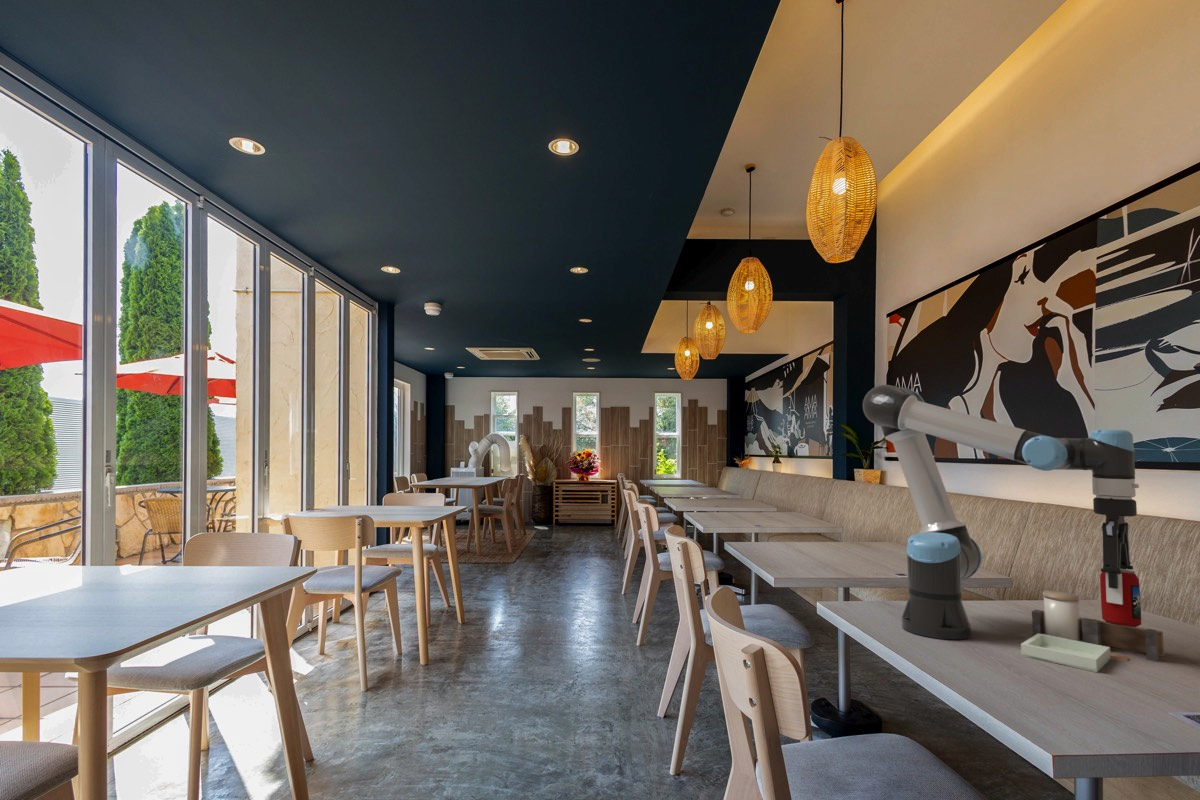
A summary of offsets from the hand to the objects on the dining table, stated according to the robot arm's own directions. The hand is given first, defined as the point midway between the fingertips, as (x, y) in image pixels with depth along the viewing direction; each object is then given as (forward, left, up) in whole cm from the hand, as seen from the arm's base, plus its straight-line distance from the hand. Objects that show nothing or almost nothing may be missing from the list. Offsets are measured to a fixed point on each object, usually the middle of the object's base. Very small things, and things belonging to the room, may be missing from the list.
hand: (1118, 600), depth 137 cm
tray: (-7, -14, -11) cm, 19 cm away
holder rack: (-5, 0, -11) cm, 13 cm away
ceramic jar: (-11, 0, -11) cm, 16 cm away
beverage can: (0, -1, -5) cm, 5 cm away
